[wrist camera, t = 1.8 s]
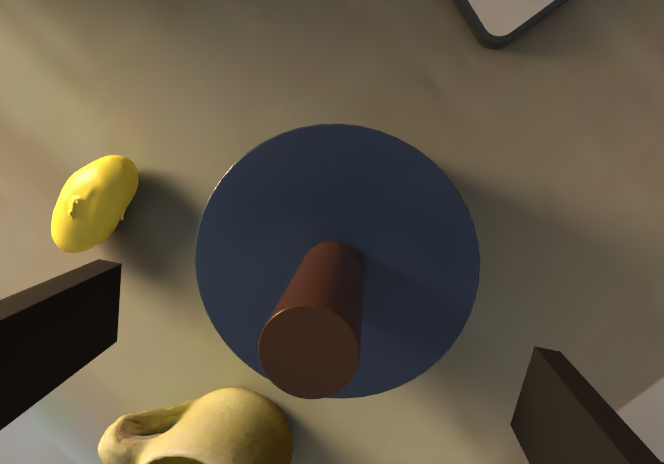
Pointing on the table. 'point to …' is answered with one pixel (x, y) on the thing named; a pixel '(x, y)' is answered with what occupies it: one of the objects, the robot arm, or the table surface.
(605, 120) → the table surface
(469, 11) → the phone case
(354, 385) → the lid
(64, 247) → the lemon
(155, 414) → the mug
